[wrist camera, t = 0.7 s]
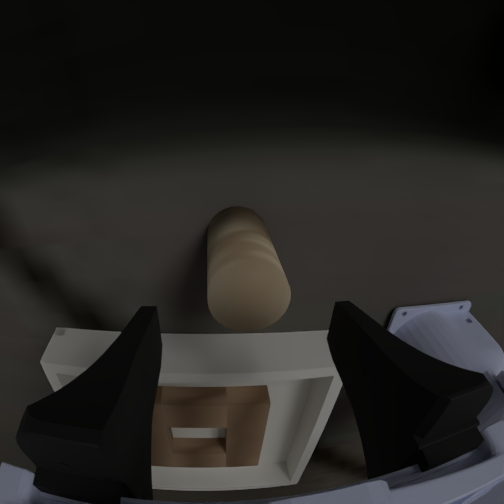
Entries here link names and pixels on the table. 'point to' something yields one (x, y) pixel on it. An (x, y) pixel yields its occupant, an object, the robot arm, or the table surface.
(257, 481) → the tray
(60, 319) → the table surface
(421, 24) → the table surface
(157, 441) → the bore plate
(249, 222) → the peg
